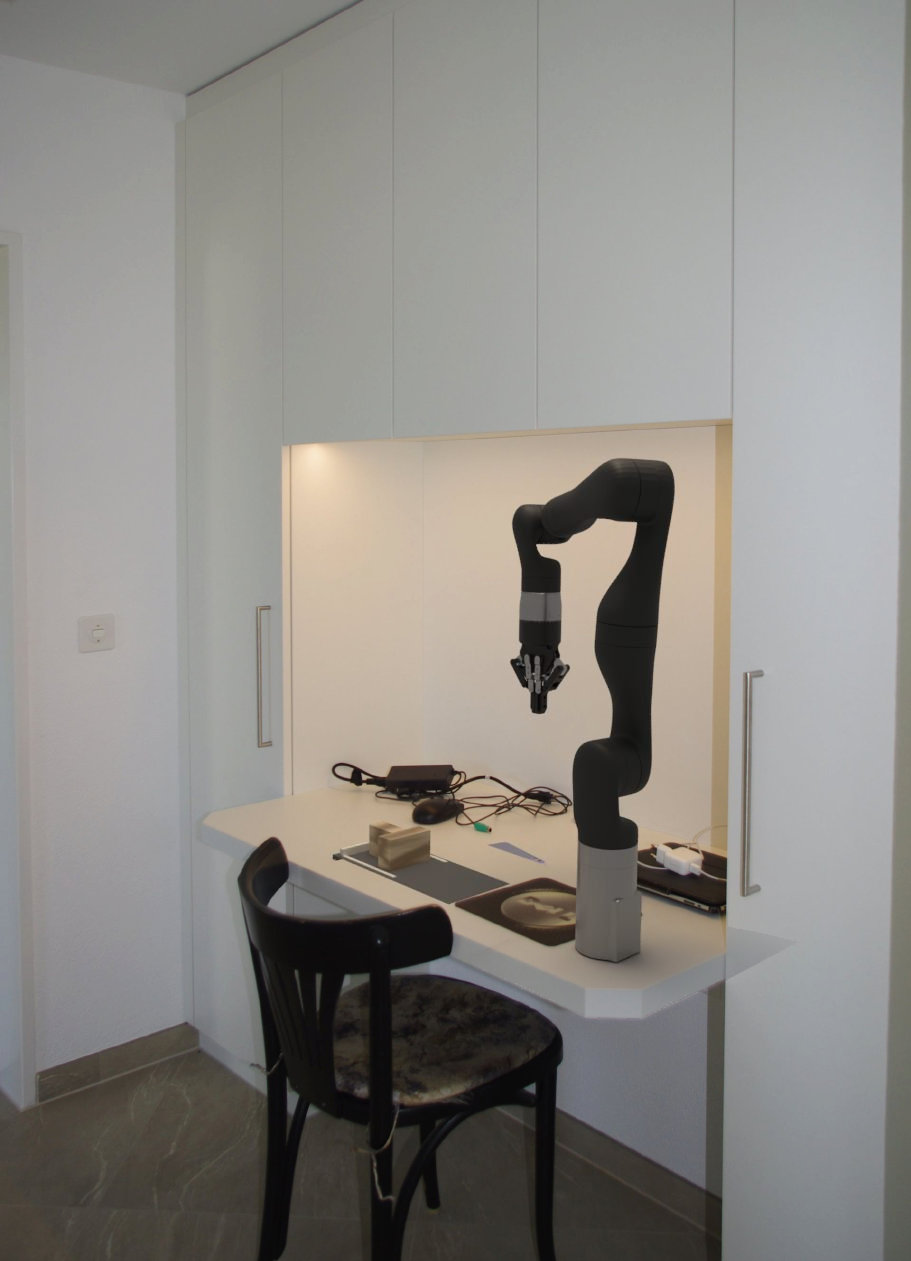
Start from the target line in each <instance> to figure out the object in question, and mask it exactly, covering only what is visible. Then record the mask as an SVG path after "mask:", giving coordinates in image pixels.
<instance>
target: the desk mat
mask: <svg viewBox="0 0 911 1261" xmlns="http://www.w3.org/2000/svg"><path fill="white" fill-rule="evenodd" d="M332 860H335V861H340V860H343V861H346V862H349V863H351V864H353V865H355V866H358V867H360V868H363V869H364V870H368V871H370V872H372V873H375V874H377V875H378V876H381V877H383V878H386V879H389V880H390V881H393V882H395V883H398V884H400V885H402V886H405V887H407V888H410V889H412V890H414V891H416V892H419V893H421V894H424V895H425V896H428V897H430V898H432V899H435V900H438V901H440V902H443V903H445V904H447V905H451V904H455V903H457V902H460V901H463V900H467V899H468V898H471V897H472V898H473V897H474V896H475V897H476V896H478V895H481V894H484V893H487V892H490V891H493V890H496V889H499V888H501V887H505V886H508V885H510V883H509V882H506V881H503V880H501V879H498V878H496V877H493V876H490V875H489V874H485V873H483V872H481V871H477V870H474V869H473V868H472V869H471V868H470V867H467V866H464V865H461V864H459V863H456V862H453V861H451V860H448V859H445V858H443V857H440V856H438V855H435V854H433V853H430V860H429V861H426V862H422V863H419V864H415V865H412V866H408V867H405V868H401V869H398V870H394V871H391V872H389V871H387V870H384V869H382V868H379V867H378V858H377V857H375V856H372V855H370V854H369V840H368V841H363V842H360V843H356V844H351V845H349V846H347V845H346V846H344V847H341V848H339V852H337V853H334V854H332Z"/></svg>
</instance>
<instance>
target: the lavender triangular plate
mask: <svg viewBox="0 0 911 1261" xmlns="http://www.w3.org/2000/svg"><path fill="white" fill-rule="evenodd" d="M488 846H490V847H492V848H495V849H498V850H500V851H504V852H507V853H510V854H512V855H516V856H518V857H521V858H524V859H527V860H530V861H533V862H536V863H538V864H541V865H545V866H546V864H547V862H546V861H545V860H543V859H541V858H539V857H537V856H535V855H533V854H531V853H529V852H528V851H525V850H523V849H522V848H519V847H518V846H515V845H514V844H512V843H509V842H506V841H505V842H503V841H502V842H497V843H491V844H490V843H489V844H488Z"/></svg>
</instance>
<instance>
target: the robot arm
mask: <svg viewBox="0 0 911 1261" xmlns="http://www.w3.org/2000/svg"><path fill="white" fill-rule="evenodd" d="M675 492H676V485H675V476H674V472H673V470H672V467H671V466H670V465H669V464H668V463H667V462H665V461H662V460H657V459H644V458H643V459H641V458H631V457H630V458H626V457H618V458H617V457H616V458H611V459H609V460H607V461H605V462H603V463H601V464H600V465H599V466H598V467H597V468H595V469H594V470H593V471H592V472H591V473H590V474H589V475H588V476H586V477H585V478H584V479H583V480H582V481H581V482H580V483H579V484H577V485H576V486H575V487H574V488H573V489H571V490H568V491H566V492H564V493H561V494H559V495H557V496H555V497H553V498H551V499H549V500H548V501H547V502H546V503H544V504H539V503H538V504H535V503H530V504H528V503H525V504H521V505H519V507H518V508H516V510H515V511H514V514H513V516H512V521H511V526H512V528H511V529H512V533H513V538H514V541H515V544H516V548H517V553H518V557H519V563H520V568H521V571H520V572H521V574H520V575H521V577H520V578H521V580H520V586H521V587H520V599H519V609H518V612H519V613H518V614H519V616H518V617H519V618H518V622H519V623H518V642H519V643H520V644H521V646H520V650H519V655H517V656H516V657H515V658H510V660H509V663H510V666H511V668H512V670H513V672H514V674H515V675H516V678H517V679H518V681H519V684H520V685H521V687H522V688H523V689H525V688H526V689H527V690H528V692H529V693H530V695H529V696H530V698H529V700H530V702H529V704H530V705H529V707H530V710H531V713H532V714H536V715H543V714H545V713H546V712H547V709H548V694H549V692H552V691H556V690H557V689H558V687H559V685H561V683H562V682H563V680H564V678H565V677H566V676H567V674H568V673H569V672H570V669H571V667H570V666H571V665H570V664H567V663H566V664H565V663H563V661H562V660H561V653H560V651H559V646H560V644H561V643H562V617H563V616H562V614H563V612H562V610H563V606H562V604H563V603H562V596H561V595H562V593H561V592H562V591H561V590H562V566H561V565H562V564H561V563H560V561H559V560H557V559H555V558H552V557H546V556H542V554H541V553H540V552H539V549H538V547H537V545H561V544H565V543H567V542H568V541H570V540H571V538H572V537H573V536H574V535H577V534H580V533H582V532H585V531H588V529H590V528H592V526H593V525H594V524H595V523H596V521H598V519H599V520H600V519H603V520H610V521H614V522H619V523H620V522H623V523H636V528H635V534H634V538H633V542H632V543H633V544H632V547H631V550H630V553H629V556H628V558H627V560H626V561H625V564H624V565H623V567H622V568H621V570H619V573H618V574H617V575H616V577H615V578H614V579H613V581H612V582H611V583H610V585H609V586H608V588H607V590H606V591H605V593H604V595H603V596H602V598H601V600H600V602H599V603H598V606H597V611H596V618H595V619H596V621H595V630H594V631H595V632H594V656H595V660H596V663H597V665H598V666H597V667H598V668H599V671H600V673H601V675H602V677H603V679H604V682H605V684H606V686H607V688H608V691H609V694H610V699H611V704H612V705H611V706H612V707H611V710H612V711H611V712H612V714H611V715H612V716H611V727H610V734H609V737H604V738H597V739H592V740H589V741H585V742H583V743H582V744H580V746H579V747H578V748H577V750H576V751H575V754H574V758H573V762H572V772H571V773H572V774H571V775H572V776H571V777H572V805H573V806H572V808H573V809H572V810H573V811H572V813H573V814H572V815H573V820H574V823H575V826H576V828H577V851H576V852H577V854H576V856H577V858H576V889H575V890H576V893H575V894H576V895H575V896H576V897H575V898H576V899H575V932H574V933H575V935H574V938H575V939H574V940H575V944H574V946H575V949H576V950H577V951H578V952H579V953H580V954H582V955H584V956H586V957H589V958H592V959H597V960H605V961H611V962H614V963H618V962H620V961H623V960H624V959H626V958H628V957H631V956H633V955H637V953H640V952H641V935H642V907H643V906H642V905H643V903H642V901H643V893H642V892H641V891H639V890H637V888H638V886H637V883H638V857H639V856H638V854H639V853H638V852H639V827H638V824H637V823H636V822H635V821H634V820H632V819H630V818H627V817H624V816H621V815H620V799H619V798H623V797H627V796H630V795H634V794H637V793H639V792H641V791H643V789H644V788H645V787H646V786H647V784H648V782H649V780H650V776H651V772H652V765H653V764H652V763H653V745H652V744H653V737H652V736H653V735H652V734H653V733H652V704H653V703H652V702H653V701H652V700H653V688H654V670H655V669H654V668H655V660H656V650H657V643H658V630H659V620H660V619H659V614H660V600H661V599H660V598H661V590H662V589H661V588H662V578H663V570H664V564H665V556H666V550H667V544H668V538H669V533H670V527H671V523H672V518H673V517H672V516H673V510H674V503H675V494H676V493H675Z"/></svg>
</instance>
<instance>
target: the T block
mask: <svg viewBox="0 0 911 1261" xmlns="http://www.w3.org/2000/svg"><path fill="white" fill-rule="evenodd" d="M368 828H369V831H368V832H369V834H368V835H369V836H368V838H369V839H368V841H369V854H370V855H372V856H375V857H377V858H378V867H379V868H382V869H384V870H387V871H389V872H391V871H394V870H398V869H401V868H405V867H408V866H412V865H415V864H419V863H422V862H426V861H429V860H430V854H431V829H429V828H426V827H422V826H421V825H417V826H414V827H410V828H403V827H401V826H398V825H396V824H392V823H390V822H388V821H385V820H382V821H379V822H375V823H370V824H369V826H368Z"/></svg>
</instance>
